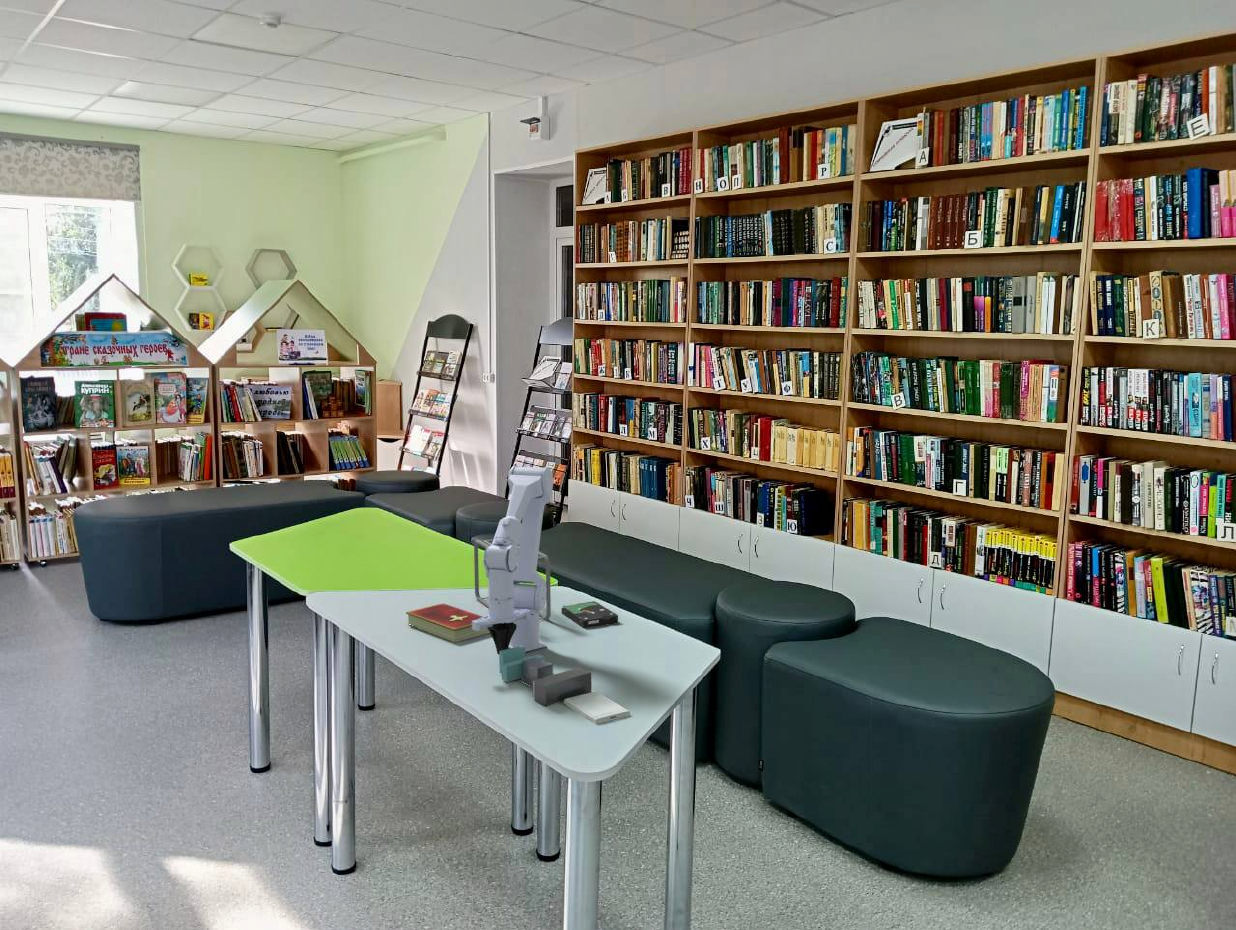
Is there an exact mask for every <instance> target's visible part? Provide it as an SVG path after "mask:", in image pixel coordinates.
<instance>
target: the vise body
mask: <svg viewBox="0 0 1236 930" xmlns="http://www.w3.org/2000/svg"><path fill="white" fill-rule="evenodd" d="M592 687H593V685H592V671H589V670H588V669H585V668H582V666H581V667H576V668H573V669H569V670H565V671H561V672H558V673H555V674H554V673H553V675H551V676H547V677H544V678H540V679H537V680H534V681H533V688H532V697H533V698H534V702H536V703H538V704H539V705H542V706H544V707H548V706H552V705H555V703H556V704H558V703H561V702H564V700H565V699H567V698H571V697H575V696H579V695H583V694H587V693H591V692H592V690H593V689H592Z"/></svg>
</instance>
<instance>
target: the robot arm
mask: <svg viewBox="0 0 1236 930" xmlns="http://www.w3.org/2000/svg"><path fill="white" fill-rule="evenodd" d="M507 477H508V478H507V484H508V486H509V487H508V488H509V492H510V494H511V495H510V498H509V502H508V506H507V507H508V508H507V511H506V515H505V517H502V518H501V519H499V522H498V525H497V529H496V531H495V534H494V537H493V539H492V540H493V541H491V544H492V545H489V547H487V548H485V550H484V554H483V560H482V561H483V567H484V569H485V576H486V578H487V579H488V581H487V583H488V584H487V589H488V597H489V598H488V603H489V608H488V614H487V615H483V617H482V618H479V619H477V620H473V621H472V629H473V630H476V631H479V630H480V629H483V628H487V629H488V630H489V632H490V633H489V634H490V635H491V638H492V639H493V642H494V646H495V649H496V653H497V655H499V651H502V650H506V649H510V648H514V647H518V646H524V647H525V653H527V652H530V651H534V650H538V649H542V648H545V647H547V646H548V644H546V643H545V642H542V641H541V640H540V620H539V618H540V616H539V611H540V612H542V610H543V609H544V608H545V606H546V579H545V578H544V577H543V576H542V575H541V574H539V573H538V571H537V568H538V560H539V558H538V557H539V556H538V552H540V543H541V542H540V541H541V534H542V525H543V516H544V511H545V506H546V505H547V504H549V503H550V502H552V501H551V498H552V494H553V489H554V488H553V487H554V475H553V472H552V469H550V467H548V466H545V467H541V466H540V467H534V466H518V465H512V467H511V468H510V470H509V472H508V476H507ZM519 542H520V544H519V548H518V547H517V546H518V543H519ZM518 549H519V552H518ZM517 559H518V561H517ZM516 565H517V569H516V570H515V571H514V572H513V570H514V569H515V567H516ZM518 583H519V584H518Z"/></svg>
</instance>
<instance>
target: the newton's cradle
mask: <svg viewBox="0 0 1236 930" xmlns="http://www.w3.org/2000/svg"><path fill="white" fill-rule="evenodd" d="M490 542H493V539H486V540H485V539H484V540H480V539H476V540H475V541H474V543H473V554H474V555H473V556H474V557H473V562H474V563H473V565H474V569H473V570H474V594H475V595H474V596H475V598H476V600H477V601H478V602H479V603H481V604H482V605H484V606H485V607H486V608H488V609H489V601H486V600H487V599H488V600H489V596H486V597H481V596H480V581H479V580H480V579H479V546H480V547H483V548H484V549H486V548H487V547H489V546H490V545H492V543H490ZM519 544H520V541H519V543H518V546H517V547H518V553H519ZM538 559H544V561H545V581H546V603H545V606H546V607H545V608H546V610H545V611H546V614H545V613H543V612H542V611H539V621H540V620H545V621H548V620H550V618H551V616H552V615H551V613H552V608H551V607H552V606H551V605H552V604H551V561H550V558H549V556H548V555H547V554H545V553H543V552H541V551H539V552H538ZM517 561H518V559H517ZM516 569H517V565H516V567H515V569H514V570H513V572H514V571H515V570H516ZM517 584H520V583H517ZM485 599H486V600H485Z"/></svg>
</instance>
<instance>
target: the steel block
mask: <svg viewBox="0 0 1236 930" xmlns="http://www.w3.org/2000/svg"><path fill="white" fill-rule="evenodd" d="M553 664H554V663H550V662H549V661H547V660H545V659H544V660H542V659H540V658H538V657H535V658H531V659H527V660H524V661H522V678H521V683H522V682H524V683H526V684H528V685H530V686H532V687H533V681H534V680H537V679H540V678H544V677H547V676H551V675H554V667H553ZM524 683H523V684H524ZM526 684H525V685H526ZM528 685H527V686H528ZM530 686H529V687H530ZM532 687H531V688H532Z"/></svg>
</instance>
